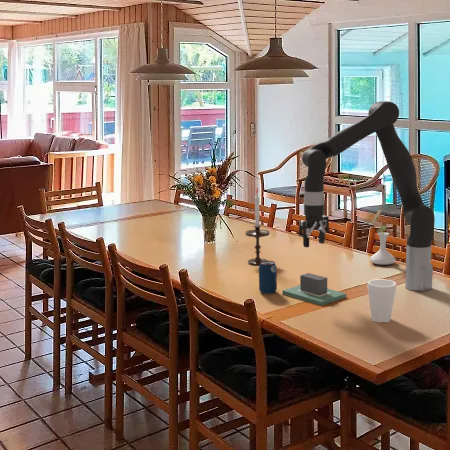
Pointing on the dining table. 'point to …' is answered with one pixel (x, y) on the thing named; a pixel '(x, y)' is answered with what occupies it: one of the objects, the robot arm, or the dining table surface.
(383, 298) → the foam cup
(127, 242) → the dining table surface
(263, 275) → the soda can
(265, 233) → the candlestick
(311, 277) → the block
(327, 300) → the pin board
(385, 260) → the flower in vase
